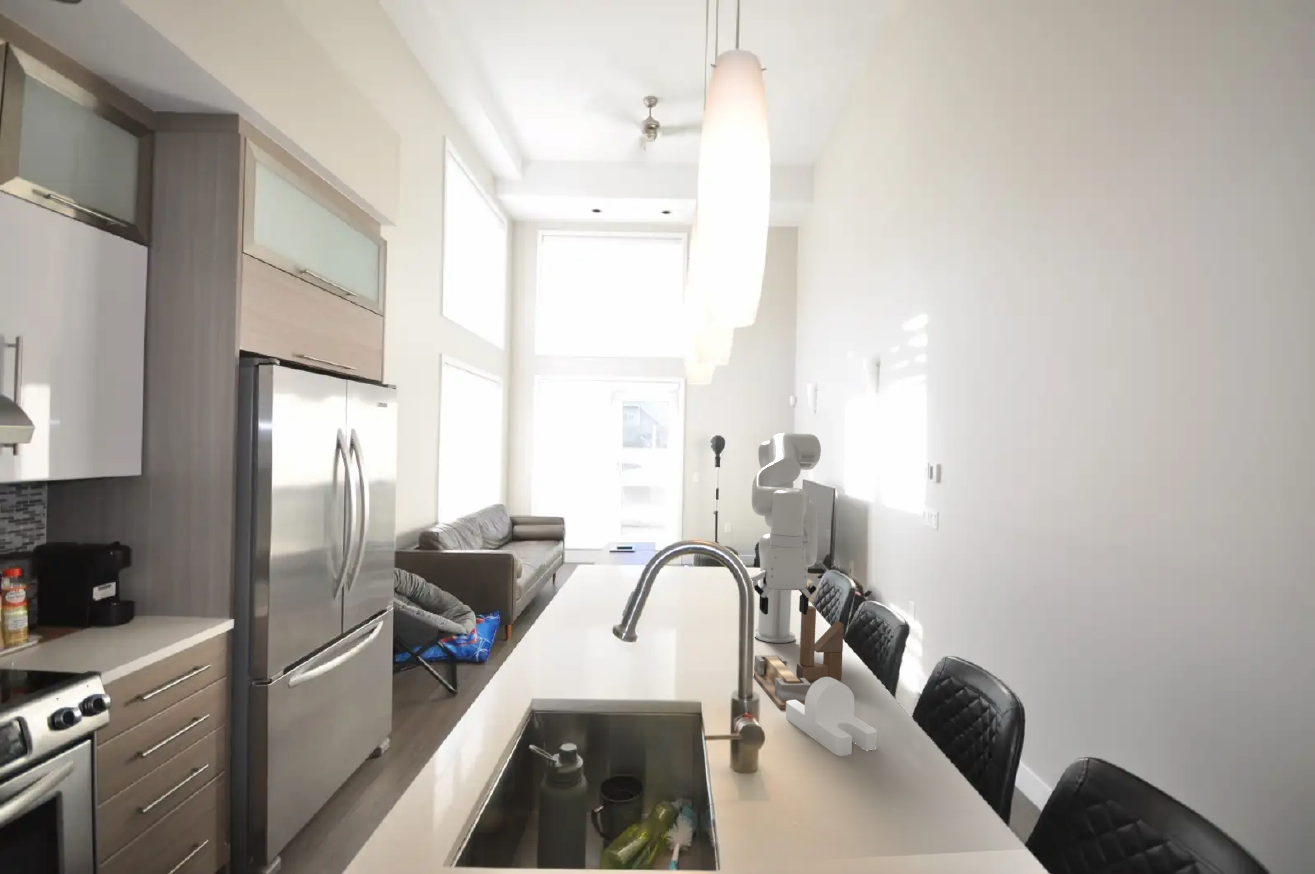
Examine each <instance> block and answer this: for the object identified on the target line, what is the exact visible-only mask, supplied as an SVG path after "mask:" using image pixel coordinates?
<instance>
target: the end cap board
mask: <svg viewBox="0 0 1315 874" xmlns="http://www.w3.org/2000/svg"><path fill="white" fill-rule="evenodd" d="M765 657H778V659H779V660H780V661H781V662H782V663H783V664H784V665H785V666H786V667H787V668H788V666H787V665H788V660H786V658H785V657H784V656H782V655H781V654H778V655H776V654H775V655H773V654H772V655H771V654H770V655H769V654H766V655H765V654H764V655H761V654H760V655H759V654H758V655H757V654H755V655H754V665H753V666H754V677H753V679H754V680H755V681H756V682H757V684H758V685H759V686H760V688H762V689H764V690H763V691H764V692H765V694H766V695H767V696H768V697H769V698H770V699H771V701H772V702H773V703H774V705H775V706H776V707H777V708H778V709H779V710H786V701H789V700H797V701H799V702H800V703H802V704H803V705H805V698H806V695H807V692H808V690H809V688H810V687H811V685H812V683H810V681H807V680H806V679H805V678H800V679H799V680H800V683H784V681H783V680H782V679H781V678H775V685H774V683H773V682H772V681H771V680H770V679H769V677H768V676H767V675H766V674H765Z"/></svg>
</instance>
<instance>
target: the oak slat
mask: <svg viewBox="0 0 1315 874" xmlns="http://www.w3.org/2000/svg"><path fill="white" fill-rule="evenodd" d="M765 674H766V675H767V676H768V677H769V679H770V680H771V681H772V682H773V683H774V685H775V678H781V679H782V680H783V681H784V683H800V679H799V678H797V676H796V674H794V673H793V672H792V670H790V669H789V668H788V666H787V667H786V666H785V665H784V664H783V663H782V662H781V661H780V660H779V659H778V657H765Z"/></svg>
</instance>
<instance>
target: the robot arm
mask: <svg viewBox="0 0 1315 874" xmlns="http://www.w3.org/2000/svg"><path fill="white" fill-rule="evenodd" d="M821 446H822V445H821V443H820V440H819V438H818V437H817V436H816V435H814V434H811V433H792V432H791V433H790V432H783V433H780V432H779V433H778V434H775V435H773V436H772V437H771V438H770V440H766V441H764V442H761V444H759V446H758V453H757V454H758V462H759V466H760V470H759V471H758V472H757V473H756V475H755V476H754V479H753V480H752V487H751V507H752V510H753V512H754V513H755V514H756V515H758V516H761V517H764V522H765V524H766V526H767V527H769V528H771V529H770V533H766V534H763V535H762V536H761V537H760V539H759V541H758V556H759V568H760V571H759V572H757V573H755V574H754V575H751V576H750V577H751V579H752V581H753V586H752V588H753V589H754V591H755V592H756V593H757V594H758V595H759V598H758V599H759V604H758V606H759V607H758V623H757V625H758V626H757V627H758V628H755V629H756V638H755V639H757V638H758V639H757V640H760V641H762V642H765V643H767V642H768V643H774V644H775V643H776V644H786V643H791V642H793V641H795V638H796V637H795V636H796V635H795V634H794V633H793V632H792V631H791V611H792V610H791V609H792V608H791V607H792V591H799V592H800V595H799V603H798V604H799V605H798V607H799V608H798V611H799V612H800V614H801V613H802V614H804V615H806V614H807V610H808V606H810V605H809V604H810V603H809V602H810V601H809V600H810V598H811V597H812V595H813V594H814V593H815V592H816V590H817V588H818V586H819V585H820V582H821V579H820V578H818V577H817V576H815V575H814V574H812V573H810V572H808V568H809V567H813V566H814V565H815V564H816V562H817V557H818V529H819V528H818V526H819V525H818V508H817V506H816V504H815V502H814V501H812V500H810V496H809V495H808V493H807V492H806V491H805V490H804V489H802V488H799V487H798V488H797V487H794V481H796V480H797V479H798V477H799V476H800V474H801V471H804V470H805V471H806V470H807V471H808V470H813V469H815V467H816V466H817V464H818V463H819V461H820V459H821V456H822V455H821V452H822V449H821V448H822V447H821ZM808 579H809V580H810V581H811V582H810V584H809V586H808V587H807V585H808ZM758 582H759V583H758Z"/></svg>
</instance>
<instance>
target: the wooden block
mask: <svg viewBox="0 0 1315 874" xmlns="http://www.w3.org/2000/svg"><path fill="white" fill-rule="evenodd" d="M816 620H817V608H816V607H815V606H812V605H808V610H807V614H806V615H804V614H802V613H801V612H800V636H799V637H800V638H799V639H800V640H799V658H798V659H799V662H797V663H796V674H795V676H796V677H797V678H798V679H799V680H800V678H805V679H806V680H807V681H808V682H815V681H816V680H818V679H820V678H823V677H831V678H834V679H836V680H837V681H839V680H840V681H842V676H843V675H842V673H843V671H842V670H843V651H844V649H843V648H844V624H843V623H842V622H841V621H840V620H836V621H835V622H834V623H833V624H831V626H830V627H829V628H828V629H827V630H826V631H825V632H824V633H823V634H822V636H821V637H819V639H818V640H817V641H816V624H817V623H816ZM815 652H816V653H823V656H822V657H823V659H822V662H817V661H815ZM840 681H839V682H840Z"/></svg>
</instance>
